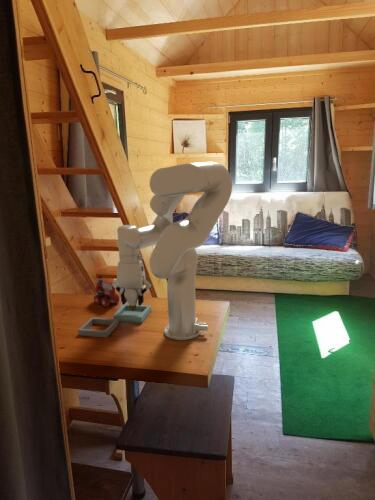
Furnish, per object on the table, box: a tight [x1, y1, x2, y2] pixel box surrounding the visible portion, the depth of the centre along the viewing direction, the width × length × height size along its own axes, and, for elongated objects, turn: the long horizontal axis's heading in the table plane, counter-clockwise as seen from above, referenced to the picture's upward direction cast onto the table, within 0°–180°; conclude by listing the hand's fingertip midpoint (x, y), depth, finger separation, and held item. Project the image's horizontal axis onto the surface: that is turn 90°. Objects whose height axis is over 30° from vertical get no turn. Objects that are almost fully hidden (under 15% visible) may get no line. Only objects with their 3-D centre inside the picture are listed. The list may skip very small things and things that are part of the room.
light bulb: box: [124, 288, 139, 311], centre depth 144 cm, size 6×6×10 cm
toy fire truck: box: [93, 278, 120, 308], centre depth 158 cm, size 7×12×10 cm, turn 48°
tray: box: [112, 303, 152, 324], centre depth 145 cm, size 11×11×2 cm
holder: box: [77, 317, 120, 338], centre depth 135 cm, size 10×10×2 cm
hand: (132, 303), depth 144 cm, fingers closed on light bulb, 5 cm apart
